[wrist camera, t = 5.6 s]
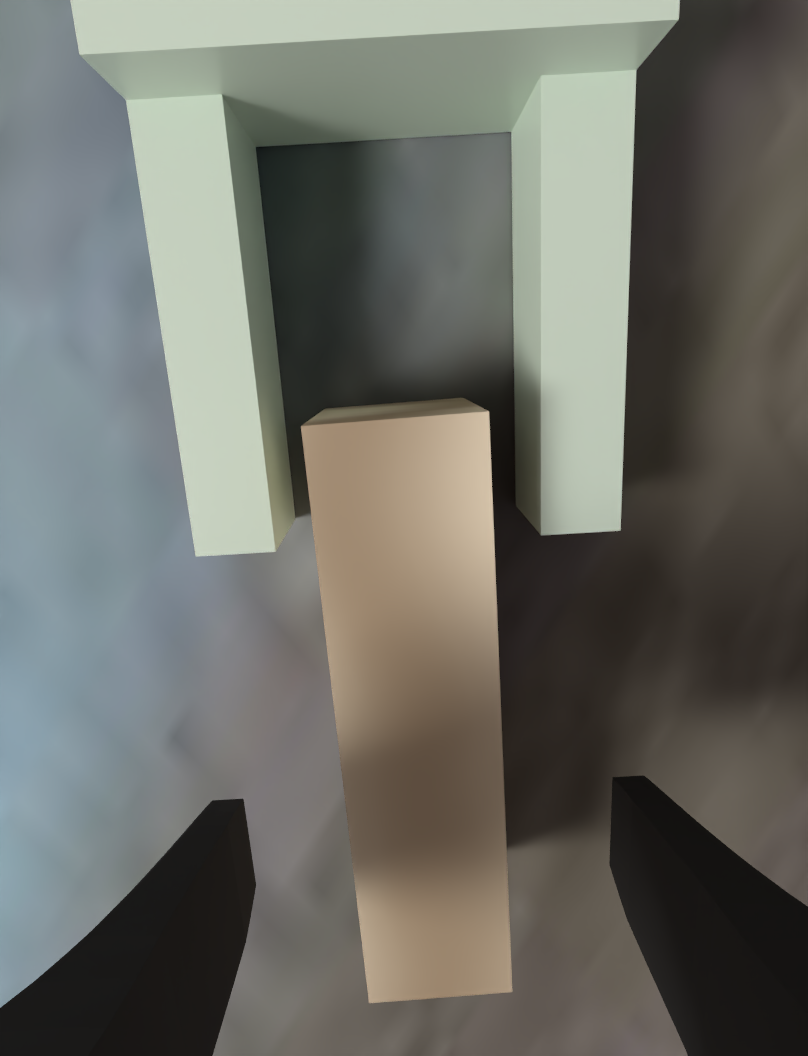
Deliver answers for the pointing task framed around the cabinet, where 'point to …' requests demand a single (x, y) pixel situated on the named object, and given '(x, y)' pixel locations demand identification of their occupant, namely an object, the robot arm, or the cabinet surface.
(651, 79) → the cabinet surface
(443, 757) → the tan wooden block
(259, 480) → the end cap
